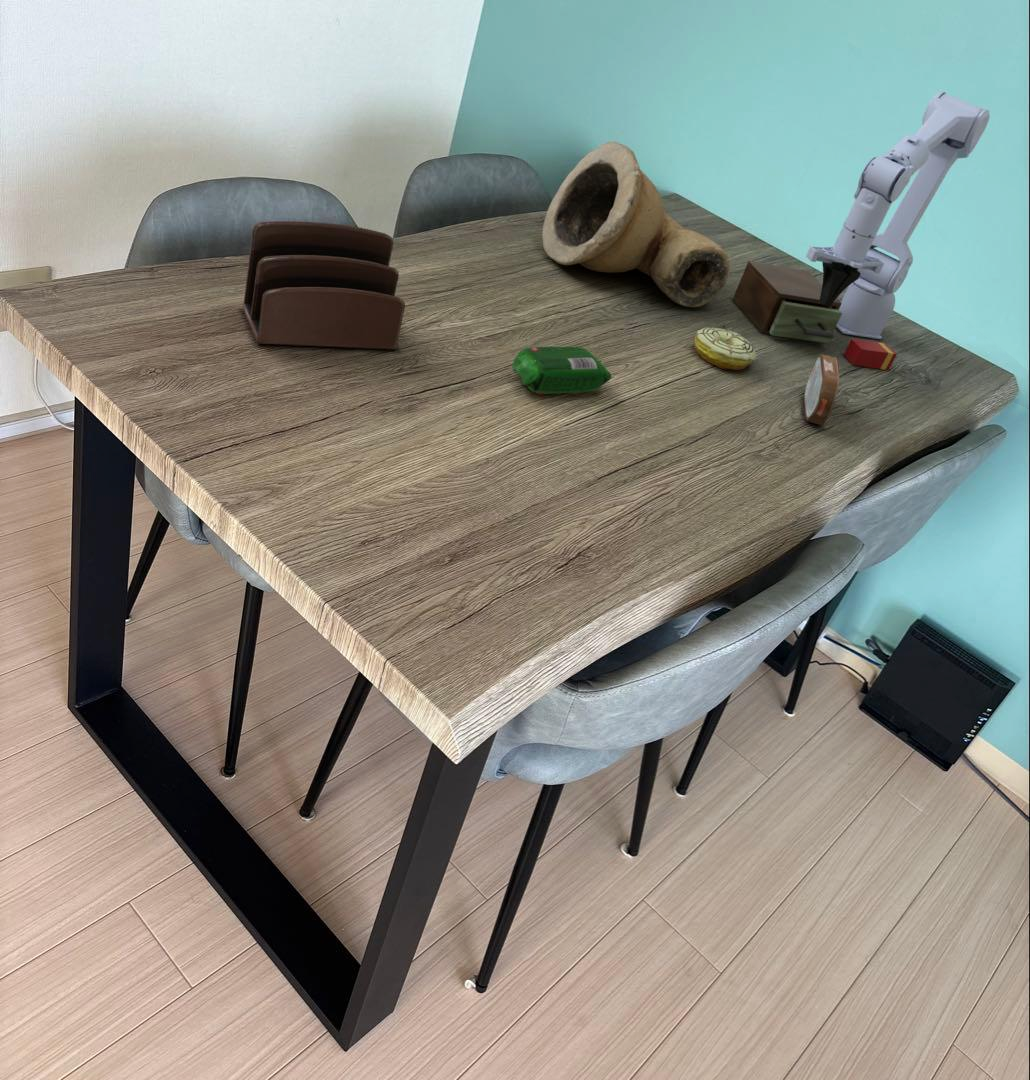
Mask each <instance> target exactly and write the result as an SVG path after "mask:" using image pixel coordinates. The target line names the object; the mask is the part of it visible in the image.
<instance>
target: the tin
mask: <svg viewBox="0 0 1030 1080" xmlns="http://www.w3.org/2000/svg"><path fill="white" fill-rule="evenodd" d="M839 387H840V371H839V364H838V358H837V357H836V356H832V355H827V354H819V355H818V356H817V357H816V358H815V362H814V365H813V368H812V369H811V373H810V375H809V376H808V378H807V381H806V385H805V389H804V394H803V404H804V417H805V420H806V422H808V423H812V424H815V425H818V426H820V427H822V426H824V425H825V424H826V422H827V421H828V419H829V417H830V415H831V413H832V410H833V407H834V405H835V403H836V399H837V395H838V392H839Z"/></svg>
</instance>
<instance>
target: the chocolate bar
mask: <svg viewBox="0 0 1030 1080" xmlns="http://www.w3.org/2000/svg"><path fill="white" fill-rule="evenodd" d="M843 356H844V357H845V358H846V359H847V360H848V361H849V362H850V364H852V365H853V366H855V367H864V368H870V369H877V370H885V371H889V370H890V368H891V366H892V364H893V363H894V361H895V359H896V357H897V356H898V353H897V352H896V351H895V350H893V348H891V346H889V344H888V343H884V342H879V341H878V342H877V341H869V340H862V339H855V338H850V341H849V342H848V345H847V346H846V348H845V351H844V353H843Z"/></svg>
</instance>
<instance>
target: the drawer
mask: <svg viewBox="0 0 1030 1080" xmlns="http://www.w3.org/2000/svg"><path fill="white" fill-rule="evenodd" d="M841 315H842V312H841V311H840V310H836V309H832V306H827V305H823V304H817V303H810V302H804V301H798V300H791V299H785V298H781V300H780V302H779V304H778V307H777V309H776V311H775V313H774V316H773V318H772V320H771V322H770V325H769V327H770V328H771V329H770V331H769V333H770V334H771V335H770V336H773V337H774V336H775V337H781V338H788V339H795V340H796V339H797V340H803V341H808V342H809V341H810V342H816V343H822V344H823V343H824V344H828V343H829V342H830V340H832V339H834V338H835V335H836V333H835V332H834V331H835V329H836V325H837V323H838V321H839V319H840V317H841Z"/></svg>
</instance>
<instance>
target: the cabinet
mask: <svg viewBox="0 0 1030 1080" xmlns="http://www.w3.org/2000/svg"><path fill="white" fill-rule="evenodd" d="M822 284H823V283H821V282H820V281H819V280H818V279H817V278H816V277H815V276H814V275H813V274H812V273H811V272H810V271H809V270H803V269H797V268H793V267H786V266H779V265H775V264H770V263H762V262H757V261H751V260H748V261H747V264H746V266H745V269H744V271H743V274H742V275H741V278H740V280H739V283H738V286H737V288H736V290H735V292H734V295H733V296H732V299H731V300H732V302H734V303H735V305H736V306H737V307H738V308H739V310H741V312H742V313H743V314H744V315H745V316H746V317H747V319H749V321H750V322H751V323H752V325H754V327H755V328H756V329H757V330H758V331H759V332H760V333H761V334H763V335H768V336H769V335H770V336H772V335H771V334H770V333H769V331H770V329H771V328H770V327H769V325H770V322H771V320H772V318H773V316H774V313H775V311H776V309H777V307H778V304H779V302H780V300H781V298H785V299H791V300H798V301H804V302H810V303H817V304H823V303H822V302H821V301H820V300H819V299H820V295H821V290H822ZM841 304H842V303H841V301H840V300H839V299H838V297H837V298H836V300H835V301H834V302H833V303H832V305H831V306H832V309H836V310H839V308H840V306H841ZM823 305H824V304H823Z"/></svg>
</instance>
